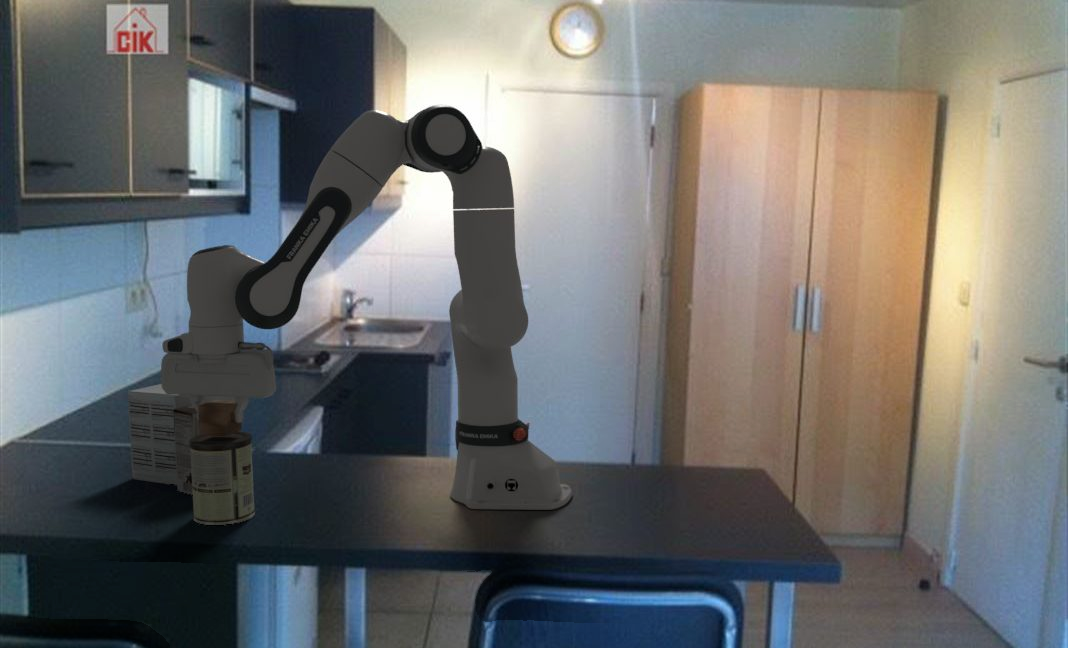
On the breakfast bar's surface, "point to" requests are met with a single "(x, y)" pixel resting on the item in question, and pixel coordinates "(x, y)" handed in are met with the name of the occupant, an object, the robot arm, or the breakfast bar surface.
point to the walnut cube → (217, 418)
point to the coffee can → (222, 478)
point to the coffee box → (184, 445)
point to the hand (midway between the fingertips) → (220, 421)
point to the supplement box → (156, 432)
